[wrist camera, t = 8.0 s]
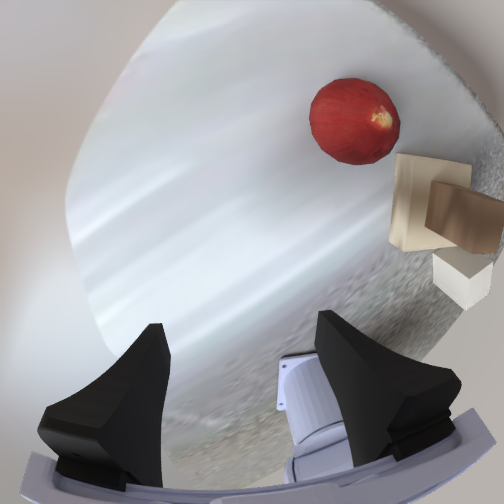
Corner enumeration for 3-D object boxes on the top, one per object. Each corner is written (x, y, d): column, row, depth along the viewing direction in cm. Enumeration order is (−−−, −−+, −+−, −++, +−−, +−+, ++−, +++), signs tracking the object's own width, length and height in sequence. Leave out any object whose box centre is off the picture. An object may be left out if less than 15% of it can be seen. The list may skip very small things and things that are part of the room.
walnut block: (452, 227, 20) (497, 252, 15) (424, 226, 20) (471, 254, 15) (459, 185, 19) (507, 203, 13) (431, 180, 18) (483, 198, 13)
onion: (369, 99, 18) (435, 89, 11) (360, 166, 20) (423, 184, 13) (301, 80, 17) (346, 50, 10) (291, 152, 19) (332, 160, 12)
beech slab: (443, 235, 24) (461, 245, 21) (386, 239, 23) (403, 251, 21) (451, 160, 21) (472, 165, 18) (393, 152, 20) (413, 155, 18)
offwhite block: (456, 268, 26) (489, 293, 20) (433, 283, 26) (465, 311, 20) (456, 239, 24) (493, 261, 19) (432, 253, 24) (469, 279, 19)
